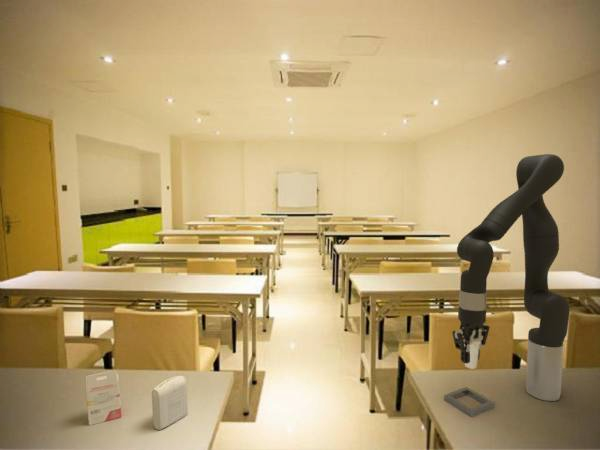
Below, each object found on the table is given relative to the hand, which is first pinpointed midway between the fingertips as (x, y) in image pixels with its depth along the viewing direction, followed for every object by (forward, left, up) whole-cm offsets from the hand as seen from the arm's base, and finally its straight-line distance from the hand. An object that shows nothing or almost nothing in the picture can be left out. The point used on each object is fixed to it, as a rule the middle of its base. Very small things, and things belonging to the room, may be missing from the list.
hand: (470, 360), depth 114 cm
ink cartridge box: (+99, -46, -14) cm, 110 cm away
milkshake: (0, 0, -2) cm, 2 cm away
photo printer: (+82, -35, -14) cm, 90 cm away
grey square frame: (0, 0, -14) cm, 14 cm away
